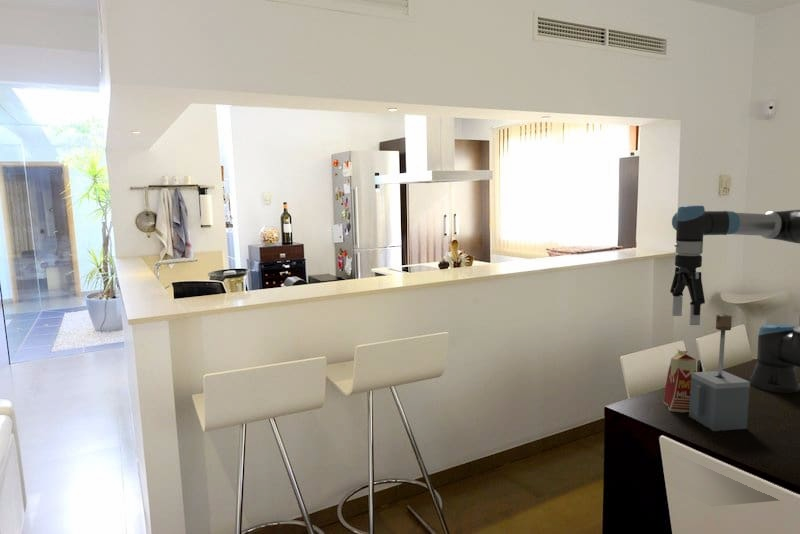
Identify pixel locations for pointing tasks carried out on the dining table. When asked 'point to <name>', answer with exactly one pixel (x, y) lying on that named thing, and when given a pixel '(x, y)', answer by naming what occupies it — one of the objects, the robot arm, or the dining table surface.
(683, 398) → the milk carton
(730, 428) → the grey box with hole
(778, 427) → the dining table surface
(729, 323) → the plunger
